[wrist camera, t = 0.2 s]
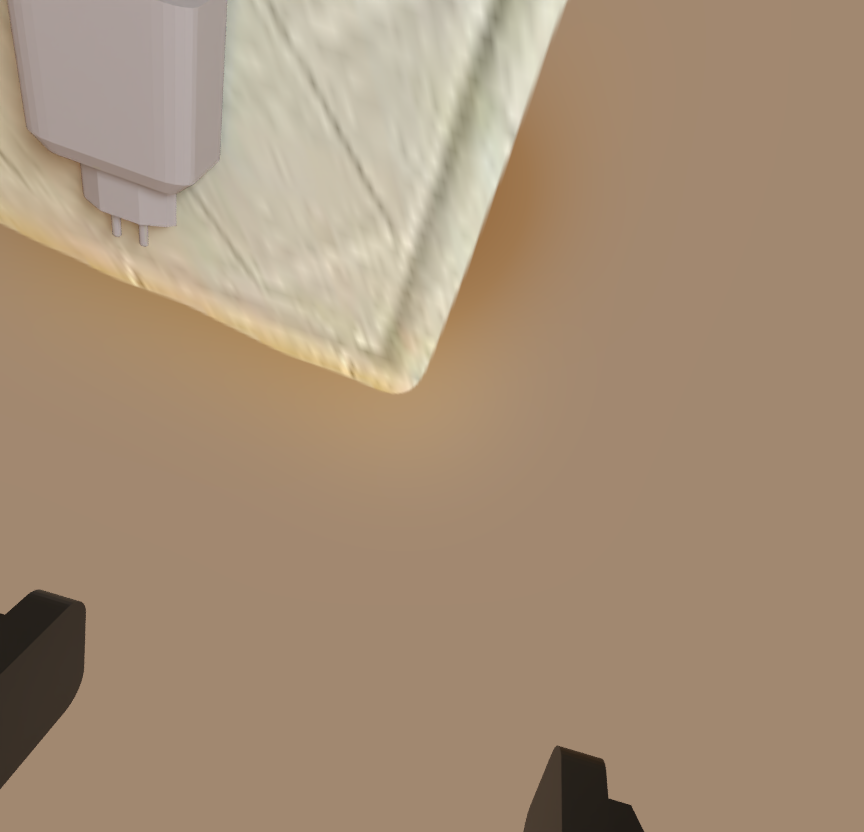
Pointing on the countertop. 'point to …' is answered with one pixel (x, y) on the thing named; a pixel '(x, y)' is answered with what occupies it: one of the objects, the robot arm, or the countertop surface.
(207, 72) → the charger
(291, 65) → the countertop surface
